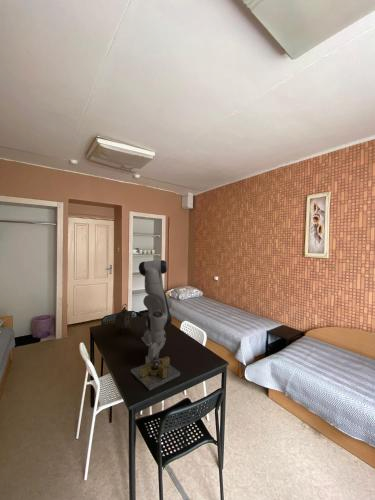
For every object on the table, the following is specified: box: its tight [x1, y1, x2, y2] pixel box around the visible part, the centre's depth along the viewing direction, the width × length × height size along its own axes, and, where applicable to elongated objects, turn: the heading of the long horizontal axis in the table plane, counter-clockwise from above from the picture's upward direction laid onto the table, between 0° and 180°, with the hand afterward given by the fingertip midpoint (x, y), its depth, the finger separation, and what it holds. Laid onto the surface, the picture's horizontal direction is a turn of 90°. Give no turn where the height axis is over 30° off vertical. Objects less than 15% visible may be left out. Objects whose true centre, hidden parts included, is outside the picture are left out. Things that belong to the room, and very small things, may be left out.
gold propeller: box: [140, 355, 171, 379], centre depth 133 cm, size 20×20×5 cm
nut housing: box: [130, 357, 181, 391], centre depth 133 cm, size 22×22×7 cm
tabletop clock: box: [115, 303, 133, 334], centre depth 202 cm, size 14×9×25 cm, turn 162°
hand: (156, 358), depth 142 cm, fingers closed
